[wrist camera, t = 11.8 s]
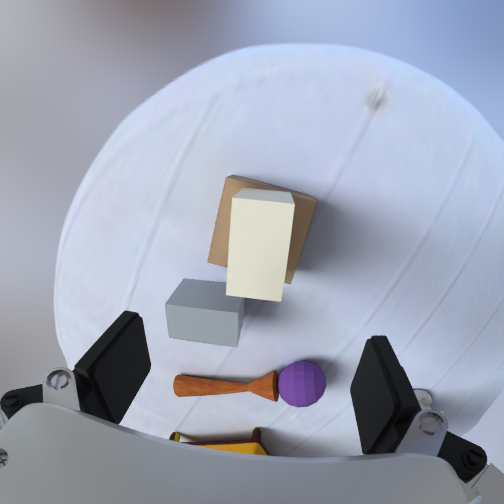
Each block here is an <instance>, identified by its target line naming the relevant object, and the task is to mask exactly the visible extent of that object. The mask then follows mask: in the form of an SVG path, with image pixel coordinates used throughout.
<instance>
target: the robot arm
mask: <svg viewBox="0 0 504 504" xmlns="http://www.w3.org/2000/svg"><path fill="white" fill-rule="evenodd" d="M74 367H75V369H74V370H73V371H71V370H70V369H68V368H64V367H58V368H54V369H52V370H50V371H48V372H47V373H46V374H45V376H44V378H43V384H40V385H36V386H31V387H26V388H21V389H16V390H11V391H9V392H7V393H6V394H4V396H3V397H2V399H1V401H0V504H504V474H503V473H502V472H501V471H500V470H499V469H497V468H496V467H495V466H494V465H493V464H492V463H491V464H490V465H487V455H486V453H485V451H484V450H483V449H482V448H481V447H480V446H478V445H476V444H473V443H471V442H469V441H467V440H465V439H463V438H461V437H459V436H457V435H455V434H452V433H450V432H448V431H447V429H448V423H447V420H446V418H445V417H444V411H443V410H442V411H436V410H432V409H431V407H432V398H431V396H430V395H429V393H428V392H426V391H423V390H413V388H412V386H411V384H410V382H409V379H408V377H407V375H406V373H405V371H404V369H403V367H402V366H401V365H400V363H399V361H398V359H397V357H396V355H395V353H394V351H393V349H392V347H391V345H390V343H389V341H388V339H387V337H386V336H372V337H371V339H367V341H366V344H365V347H364V350H363V353H362V356H361V359H360V362H359V365H358V367H357V370H356V373H355V376H354V378H353V381H352V384H351V388H350V393H351V397H352V402H353V407H354V411H355V416H356V421H357V426H358V431H359V436H360V442H361V447H362V452H363V454H364V455H359V456H342V457H281V456H266V455H255V454H245V453H237V452H229V451H223V450H216V449H210V448H205V447H200V446H194V445H190V444H185V443H181V442H176V441H172V440H168V439H164V438H160V437H156V436H153V435H149V434H146V433H143V432H139V431H136V430H133V429H130V428H127V427H124V426H121V425H118V424H119V423H120V422H121V420H122V419H123V417H124V415H125V413H126V412H127V410H128V408H129V406H130V405H131V403H132V401H133V399H134V398H135V396H136V394H137V392H138V391H139V389H140V387H141V385H142V384H143V382H144V380H145V378H146V377H147V375H148V373H149V372H150V369H151V362H150V357H149V352H148V347H147V342H146V336H145V331H144V325H143V319H142V317H140V316H139V314H138V313H136V312H131V311H124V312H123V313H122V314H121V315H120V316H119V317H118V318H117V319H116V320H115V322H114V323H113V324H112V325H111V326H110V327H109V328H108V329H107V330H106V331H105V332H104V333H103V335H102V336H101V337H100V338H99V339H98V340H97V341H96V342H95V343H94V344H93V346H92V347H91V348H90V349H89V350H88V351H87V352H86V353H85V354H84V356H83V357H82V358H81V359H80V360H79V361H78V362H77V364H76V365H75V366H74ZM366 454H367V455H366Z"/></svg>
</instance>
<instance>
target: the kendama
mask: <svg viewBox="0 0 504 504" xmlns="http://www.w3.org/2000/svg"><path fill="white" fill-rule="evenodd" d="M173 388H174V392H175V394H176V395H177V396H178V397H186V396H204V395H217V394H228V393H237V392H246V391H250V392H252V393H255V394H257V395H260V396H262V397H265V398H267V399H270V400H272V401H275V402H277V401H278V397H279V394H280V396H281V398H282V399H283V400H284V401H285V402H286V403H288V404H289V405H292V406H295V407H308V406H310V405H312V404H314V403H316V402H317V401H318V400H319V399H320V398H321V397H322V396H323V393H324V391H325V388H326V377H325V375H324V373H323V371H322V369H320V368H319V367H318V366H317V365H315V364H314V363H310V362H306V361H300V362H294V363H292V364H290V365H288V366H286V368H285V369H284V370H283V371H282V372H281V373H280V376H279V379H278V374H277V372H276V370H274V371H272V372H270V373H268V374H266V375H264V376H262V377H260V378H258V379H256V380H254V381H252V382H250V383H241V382H231V381H221V380H213V379H205V378H198V377H191V376H184V375H177V376H176V377H175V379H174V383H173Z"/></svg>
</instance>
